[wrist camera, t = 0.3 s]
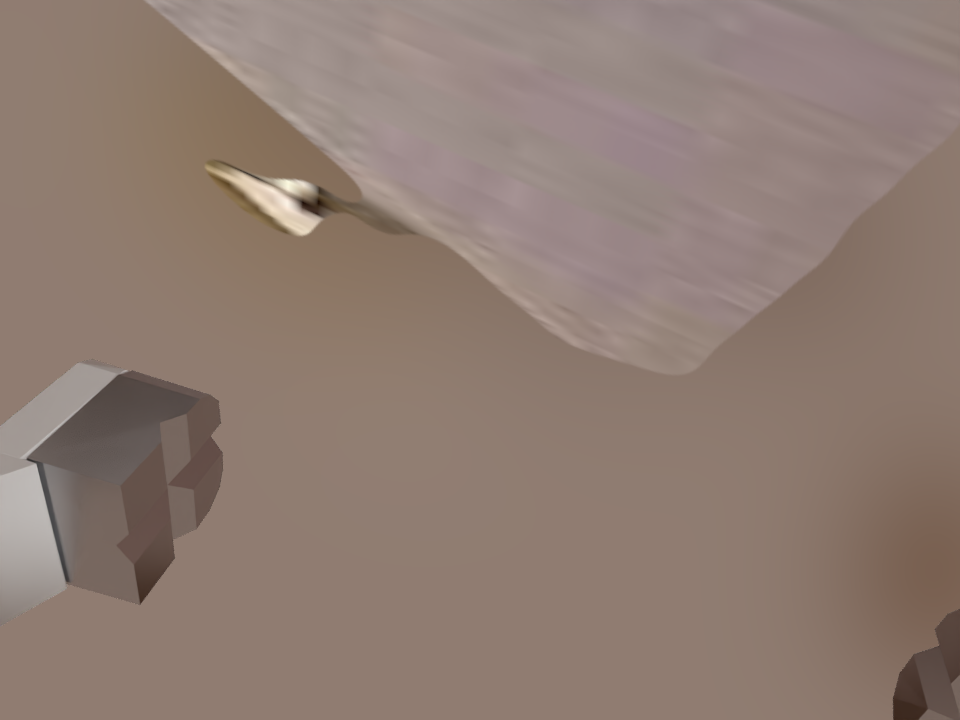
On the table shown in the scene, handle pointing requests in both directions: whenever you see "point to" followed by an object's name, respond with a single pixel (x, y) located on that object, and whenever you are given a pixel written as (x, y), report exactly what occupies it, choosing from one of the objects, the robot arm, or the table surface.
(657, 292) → the table surface
